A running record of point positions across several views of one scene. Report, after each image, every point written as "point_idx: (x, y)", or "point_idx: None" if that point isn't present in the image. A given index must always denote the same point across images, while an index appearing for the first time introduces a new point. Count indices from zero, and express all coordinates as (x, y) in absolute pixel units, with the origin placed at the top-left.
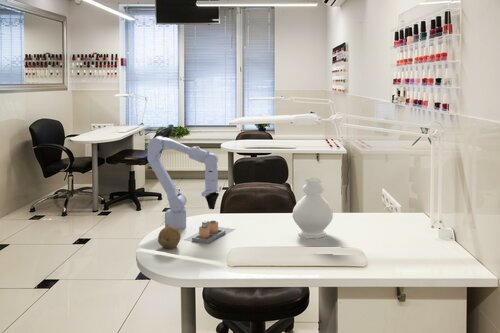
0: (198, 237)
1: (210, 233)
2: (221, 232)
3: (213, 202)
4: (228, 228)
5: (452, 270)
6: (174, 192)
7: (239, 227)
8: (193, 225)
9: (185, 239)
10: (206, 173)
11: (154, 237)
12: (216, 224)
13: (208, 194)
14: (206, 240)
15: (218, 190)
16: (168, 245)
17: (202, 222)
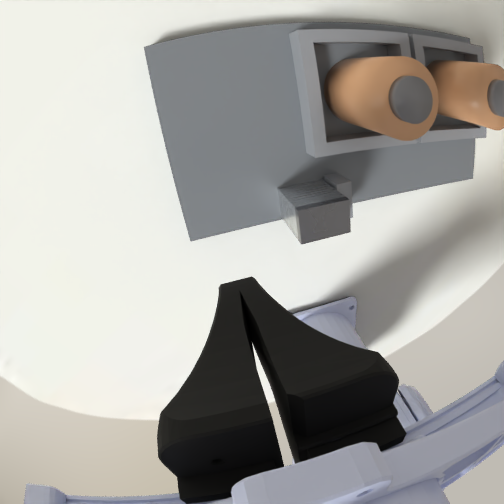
0: (448, 127)
1: None
2: (352, 31)
3: (290, 318)
4: (162, 99)
5: None
6: (444, 488)
7: (45, 110)
8: None
9: (466, 175)
10: None
11: (438, 308)
12: (410, 59)
13: (422, 423)
14: (480, 52)
15: (368, 478)
16: None
17: (349, 228)
